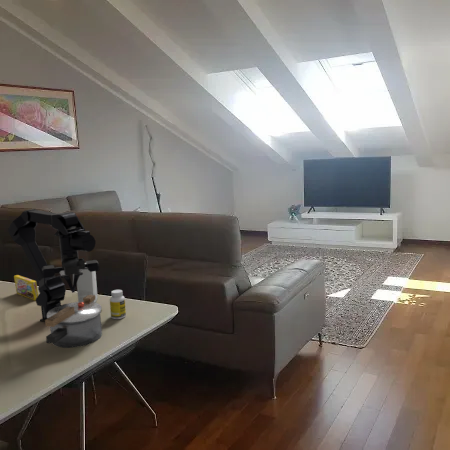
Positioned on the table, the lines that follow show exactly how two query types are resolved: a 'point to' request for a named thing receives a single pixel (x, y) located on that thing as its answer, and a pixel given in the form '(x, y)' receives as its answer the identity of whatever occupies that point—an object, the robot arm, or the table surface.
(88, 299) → the lid
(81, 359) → the table surface
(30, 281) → the candy box
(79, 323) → the cooker pot
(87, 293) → the skincare box
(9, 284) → the table surface
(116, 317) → the supplement bottle
